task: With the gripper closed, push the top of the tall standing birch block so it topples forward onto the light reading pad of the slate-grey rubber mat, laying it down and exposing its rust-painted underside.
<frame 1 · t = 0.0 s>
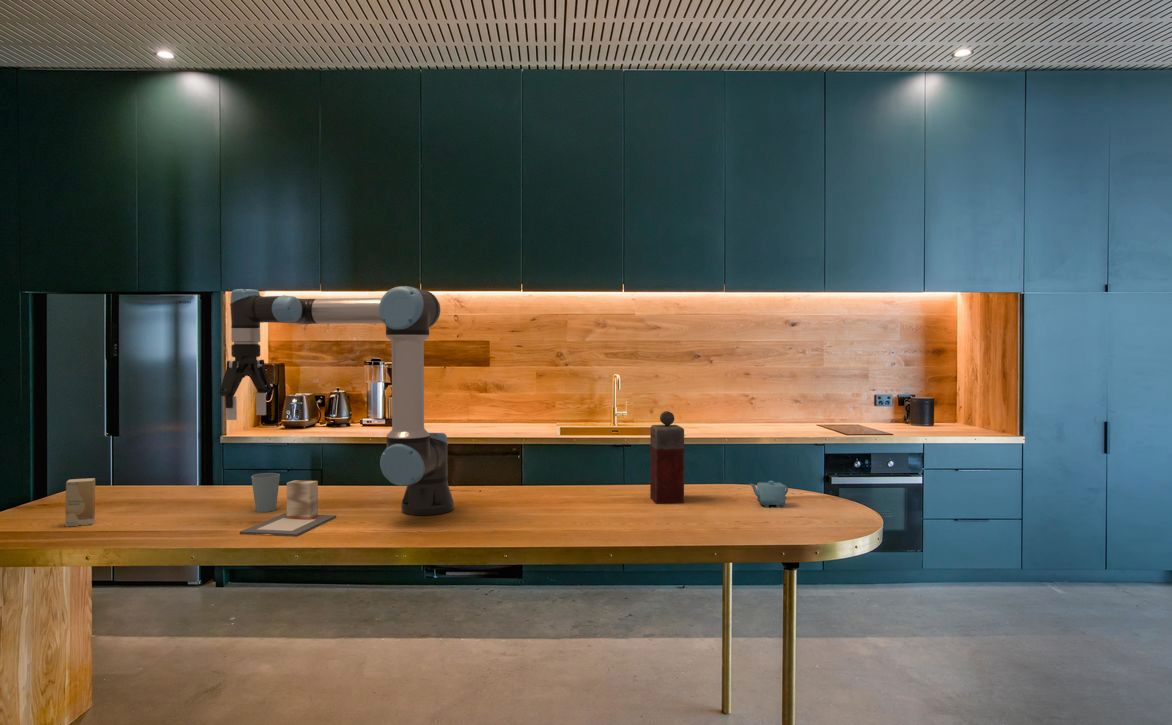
hand: (246, 417, 206), 28 cm above the table, fingers open, 13 cm apart
cup: (266, 510, 211), on the table
block: (302, 517, 200), point 1 cm above the table, touching mat
teapot: (768, 506, 217), on the table
skincare box: (81, 525, 195), on the table
mat: (290, 525, 194), on the table
pepper mill: (666, 500, 225), on the table
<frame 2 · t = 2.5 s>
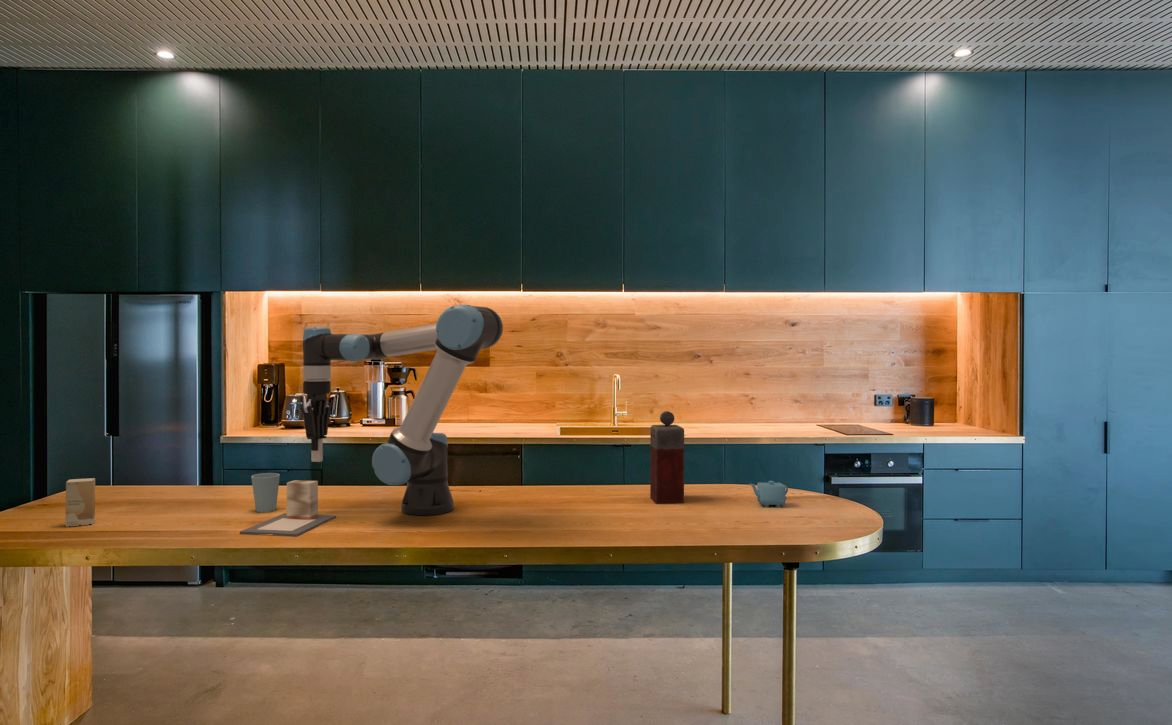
hand: (317, 461, 208), 15 cm above the table, fingers closed
nothing on the table moved.
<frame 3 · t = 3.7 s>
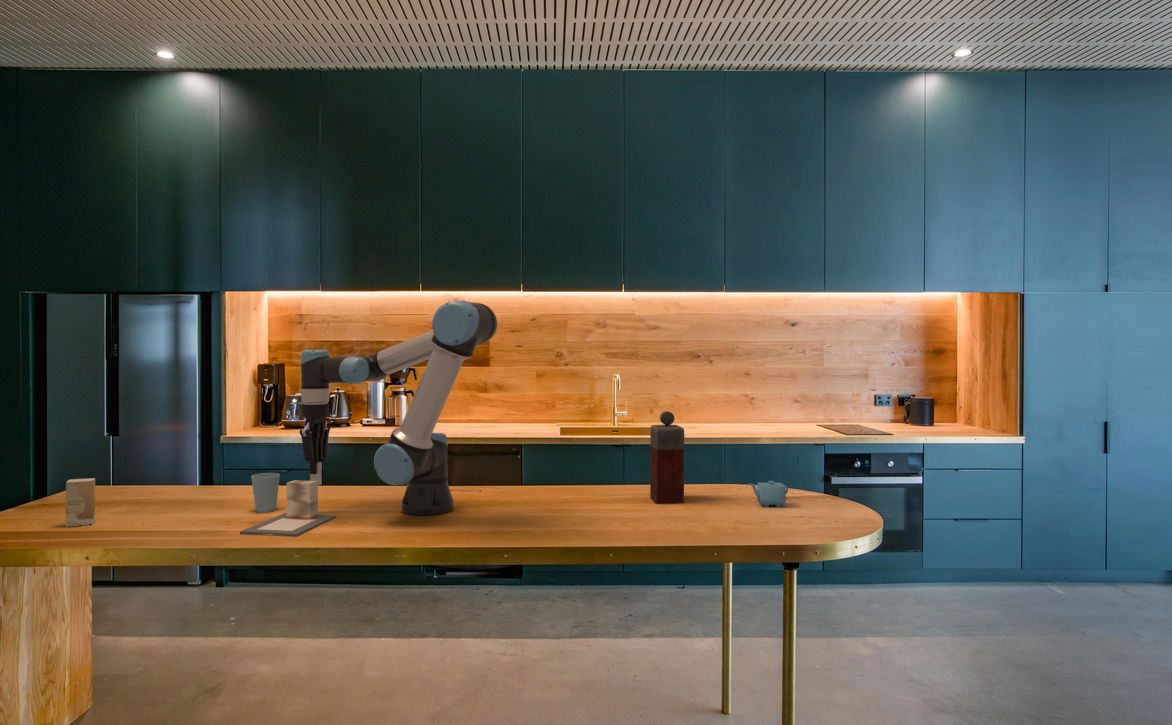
hand: (316, 484, 207), 8 cm above the table, fingers closed
nothing on the table moved.
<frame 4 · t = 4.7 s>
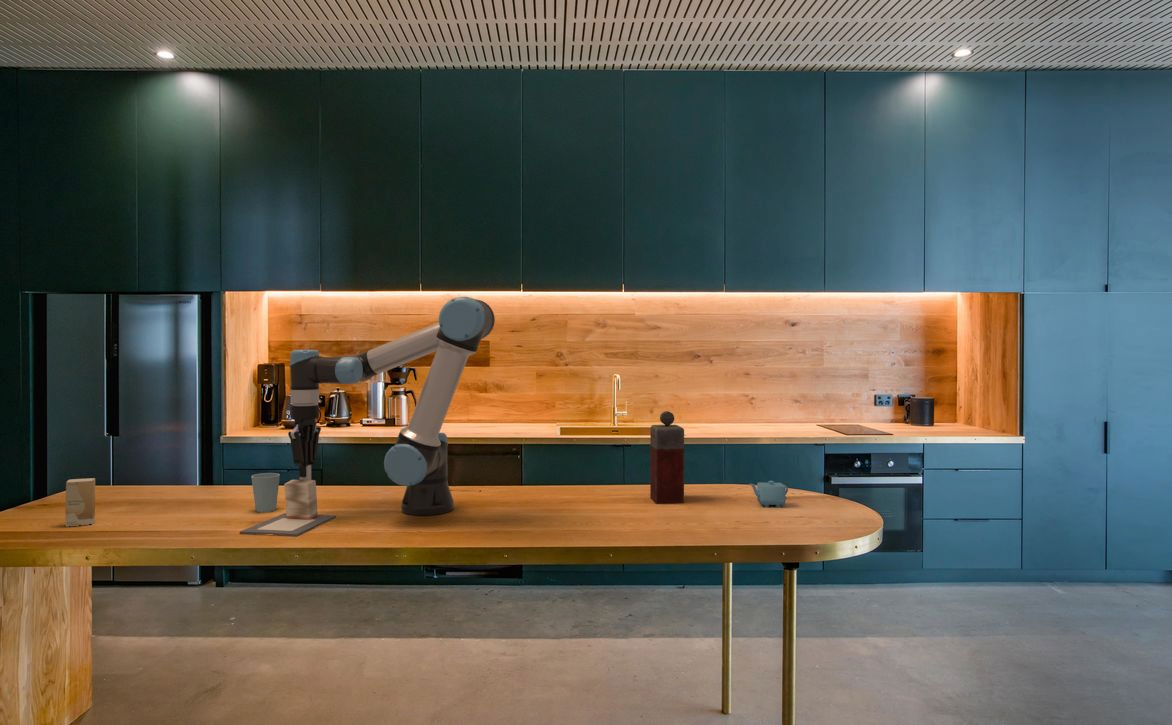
hand: (305, 488, 201), 9 cm above the table, fingers closed
block: (302, 516, 200), point 1 cm above the table, tilted 6°, touching gripper, mat
everything else where it was.
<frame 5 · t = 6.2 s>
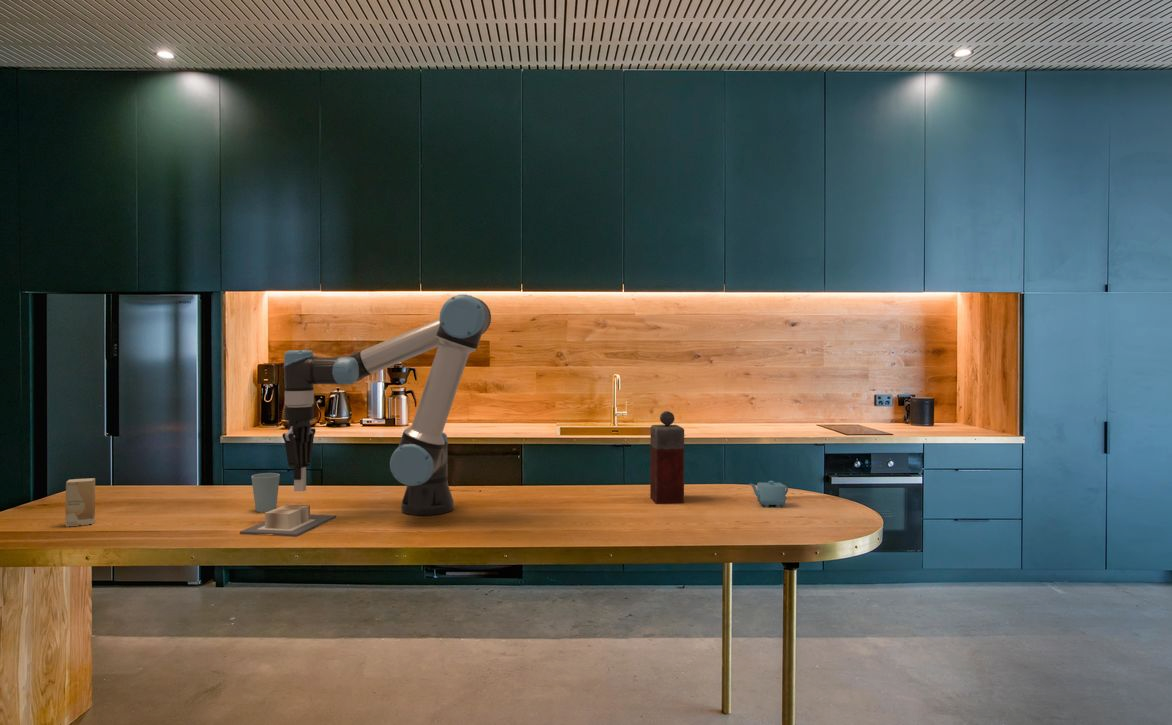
hand: (300, 490, 198), 8 cm above the table, fingers closed
block: (298, 512, 198), point 3 cm above the table, tilted 90°, touching mat
everything else where it was.
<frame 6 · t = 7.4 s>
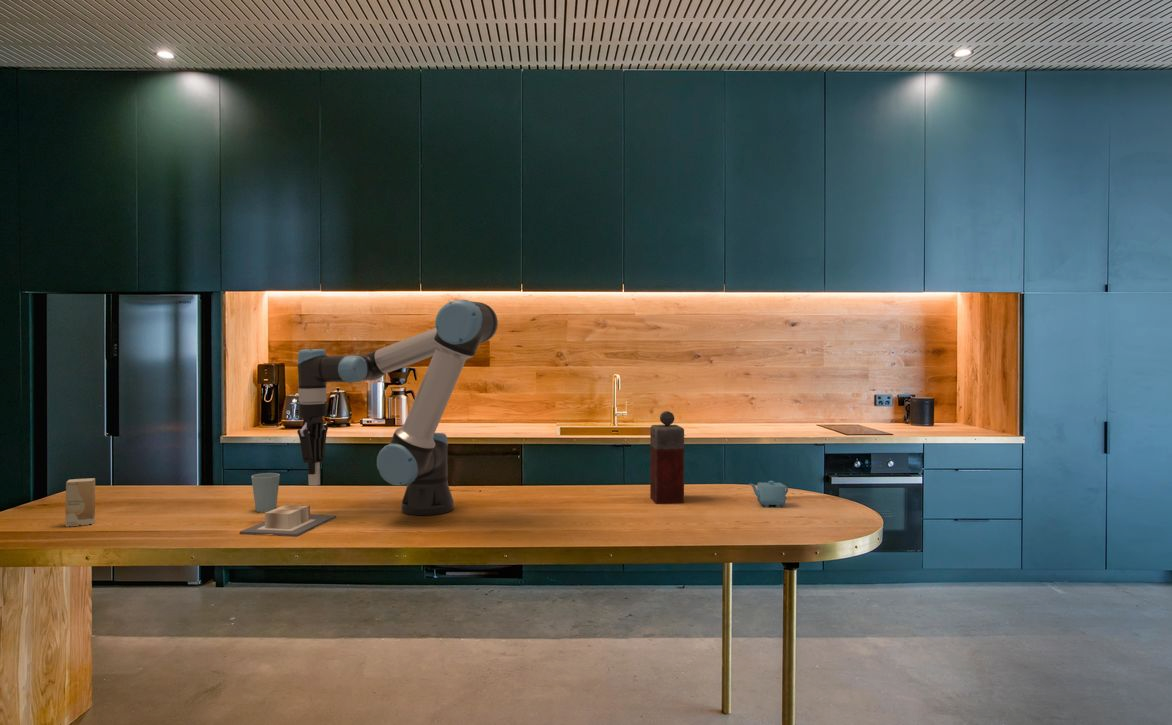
hand: (314, 484, 205), 9 cm above the table, fingers closed
nothing on the table moved.
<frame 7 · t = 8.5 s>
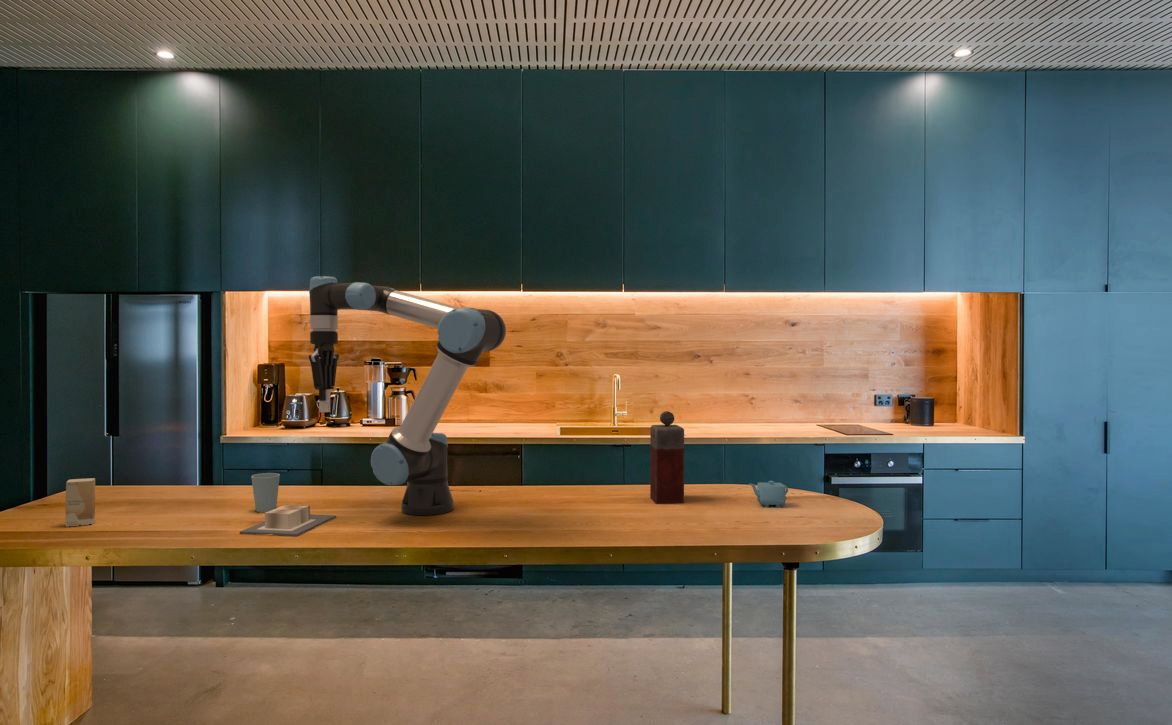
hand: (324, 411, 207), 29 cm above the table, fingers closed
nothing on the table moved.
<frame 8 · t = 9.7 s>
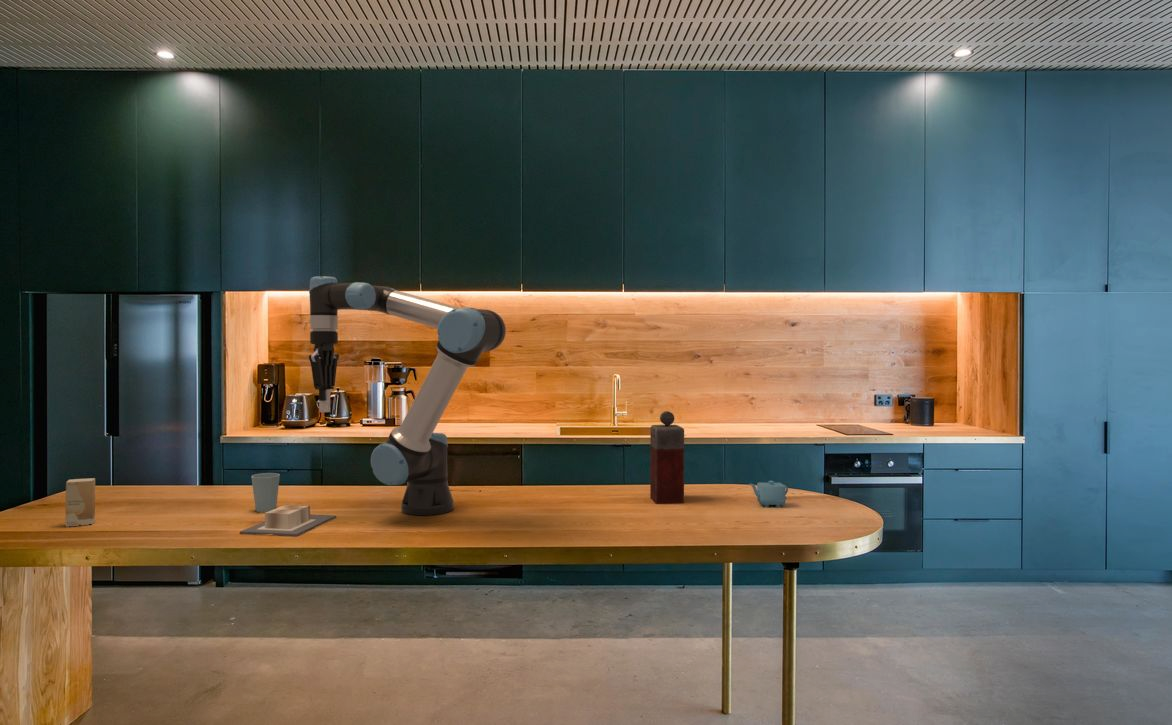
hand: (324, 411, 207), 29 cm above the table, fingers closed
nothing on the table moved.
at the end: block tilted 90°; block inside the target area (3.5 cm from its centre), point 2.6 cm above the table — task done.
